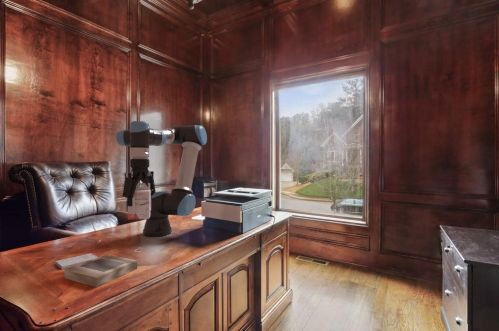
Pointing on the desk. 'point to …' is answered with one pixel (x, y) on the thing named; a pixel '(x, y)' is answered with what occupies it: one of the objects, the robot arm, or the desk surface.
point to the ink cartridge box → (141, 202)
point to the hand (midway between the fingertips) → (140, 211)
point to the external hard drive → (74, 261)
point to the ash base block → (100, 270)
